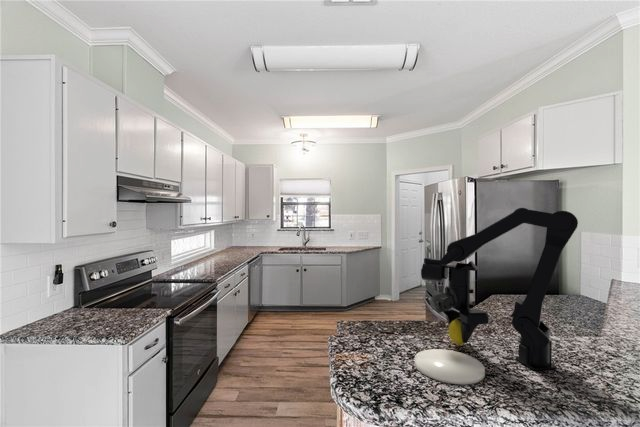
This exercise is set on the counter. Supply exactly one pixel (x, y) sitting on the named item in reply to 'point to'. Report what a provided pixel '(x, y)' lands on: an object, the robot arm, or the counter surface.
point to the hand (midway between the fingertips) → (458, 338)
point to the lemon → (455, 332)
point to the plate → (449, 366)
